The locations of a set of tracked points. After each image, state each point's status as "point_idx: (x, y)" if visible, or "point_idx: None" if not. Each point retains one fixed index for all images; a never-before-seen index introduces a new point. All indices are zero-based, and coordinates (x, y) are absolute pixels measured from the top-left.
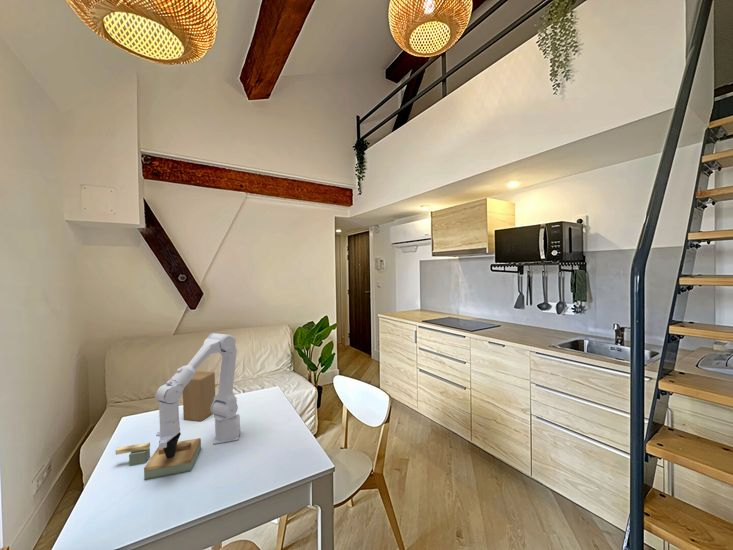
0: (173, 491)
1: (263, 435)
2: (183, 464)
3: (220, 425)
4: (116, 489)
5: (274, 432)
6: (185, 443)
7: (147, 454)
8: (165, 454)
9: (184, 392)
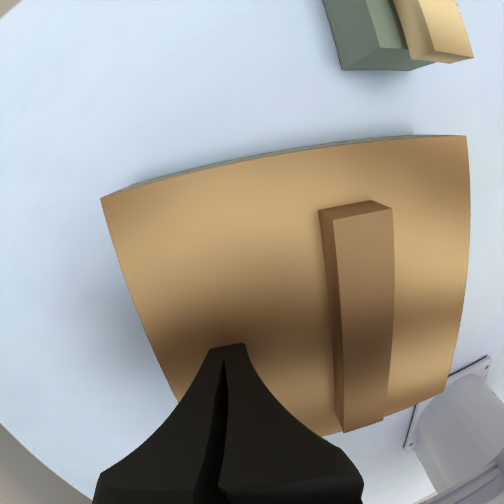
0: (74, 386)
1: (392, 485)
2: None
3: (456, 468)
4: (72, 64)
5: (393, 494)
6: (382, 396)
7: (396, 60)
8: (199, 370)
9: None
